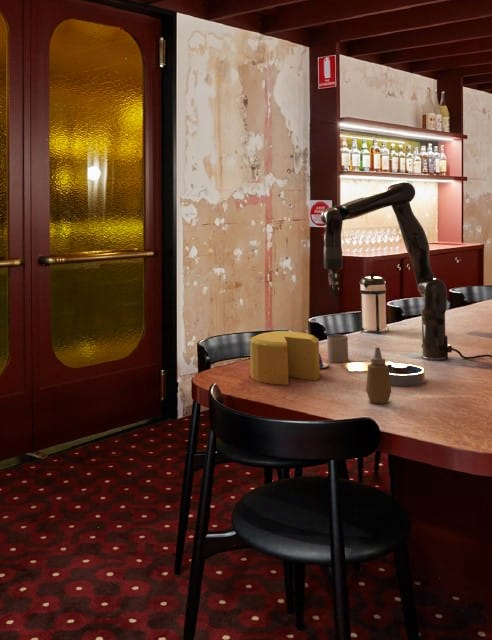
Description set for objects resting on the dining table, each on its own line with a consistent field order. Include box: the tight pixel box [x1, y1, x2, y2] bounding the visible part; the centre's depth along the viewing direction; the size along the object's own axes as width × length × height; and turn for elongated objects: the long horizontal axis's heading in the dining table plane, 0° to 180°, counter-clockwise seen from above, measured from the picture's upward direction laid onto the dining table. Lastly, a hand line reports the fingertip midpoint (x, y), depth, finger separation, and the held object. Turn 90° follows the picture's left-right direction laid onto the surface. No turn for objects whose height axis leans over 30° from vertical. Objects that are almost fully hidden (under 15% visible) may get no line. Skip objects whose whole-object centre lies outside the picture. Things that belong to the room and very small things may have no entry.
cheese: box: [249, 331, 320, 386], centre depth 275 cm, size 26×26×15 cm
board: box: [342, 361, 395, 373], centre depth 283 cm, size 20×14×1 cm
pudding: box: [319, 353, 329, 370], centre depth 289 cm, size 12×12×5 cm
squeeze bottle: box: [365, 346, 392, 405], centre depth 237 cm, size 8×8×18 cm
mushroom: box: [392, 363, 407, 375], centre depth 262 cm, size 5×5×5 cm
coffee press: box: [358, 271, 390, 335], centre depth 364 cm, size 17×16×30 cm
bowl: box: [386, 363, 426, 387], centre depth 262 cm, size 17×17×5 cm
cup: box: [326, 334, 349, 364], centre depth 299 cm, size 8×8×10 cm
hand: (334, 296), depth 294 cm, fingers open, 8 cm apart
